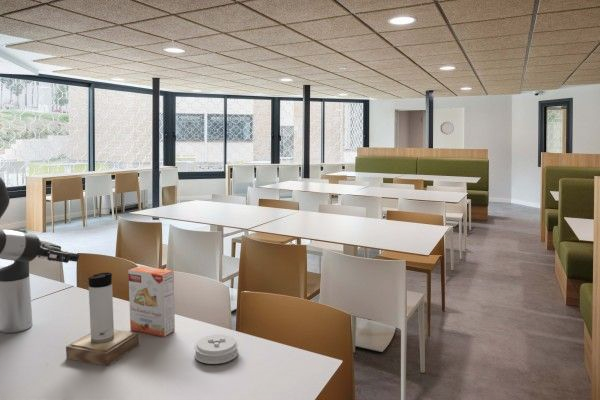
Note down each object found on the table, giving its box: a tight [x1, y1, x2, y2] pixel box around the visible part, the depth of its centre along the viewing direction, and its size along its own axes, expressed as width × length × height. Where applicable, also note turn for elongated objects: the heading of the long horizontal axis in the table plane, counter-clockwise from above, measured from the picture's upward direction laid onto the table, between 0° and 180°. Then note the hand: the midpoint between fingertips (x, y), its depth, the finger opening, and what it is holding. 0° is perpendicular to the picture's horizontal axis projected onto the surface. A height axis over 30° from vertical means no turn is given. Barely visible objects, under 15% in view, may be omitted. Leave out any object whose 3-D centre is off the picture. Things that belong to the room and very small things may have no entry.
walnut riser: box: [65, 329, 140, 367], centre depth 133 cm, size 14×14×4 cm
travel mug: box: [87, 272, 115, 343], centre depth 131 cm, size 6×7×20 cm
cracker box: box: [127, 265, 176, 338], centre depth 146 cm, size 14×6×21 cm, turn 68°
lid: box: [194, 334, 239, 365], centre depth 131 cm, size 13×13×5 cm
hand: (68, 253), depth 130 cm, fingers open, 8 cm apart
